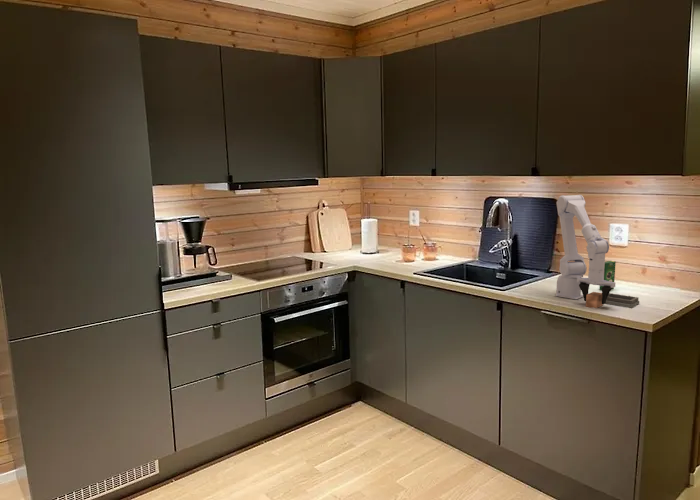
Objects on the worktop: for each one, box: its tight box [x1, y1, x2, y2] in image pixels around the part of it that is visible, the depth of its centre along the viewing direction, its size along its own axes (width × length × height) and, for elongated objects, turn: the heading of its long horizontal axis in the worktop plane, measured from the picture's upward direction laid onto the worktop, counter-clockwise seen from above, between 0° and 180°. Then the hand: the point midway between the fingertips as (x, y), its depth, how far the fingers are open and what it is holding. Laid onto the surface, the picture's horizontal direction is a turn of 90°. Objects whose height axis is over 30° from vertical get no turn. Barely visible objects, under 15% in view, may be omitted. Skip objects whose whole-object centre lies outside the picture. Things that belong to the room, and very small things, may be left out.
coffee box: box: [598, 260, 617, 292], centre depth 240 cm, size 8×3×13 cm, turn 124°
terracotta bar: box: [585, 291, 604, 309], centre depth 215 cm, size 4×7×5 cm, turn 133°
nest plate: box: [604, 292, 640, 309], centre depth 218 cm, size 12×9×3 cm
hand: (594, 302), depth 215 cm, fingers open, 6 cm apart
